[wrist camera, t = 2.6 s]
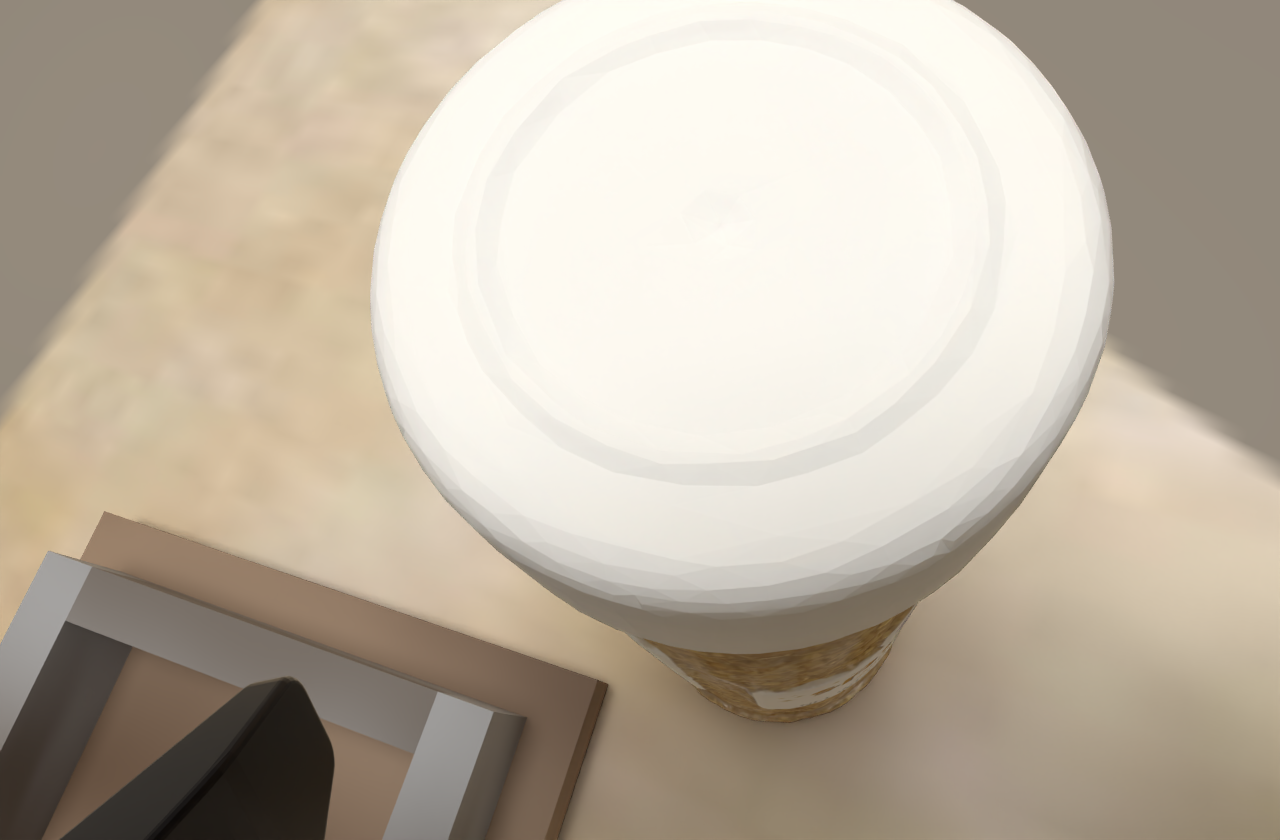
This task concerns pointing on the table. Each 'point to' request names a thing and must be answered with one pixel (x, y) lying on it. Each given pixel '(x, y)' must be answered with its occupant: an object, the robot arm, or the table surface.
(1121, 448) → the table surface
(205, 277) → the table surface
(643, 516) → the sprinkles bottle
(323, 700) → the socket board
